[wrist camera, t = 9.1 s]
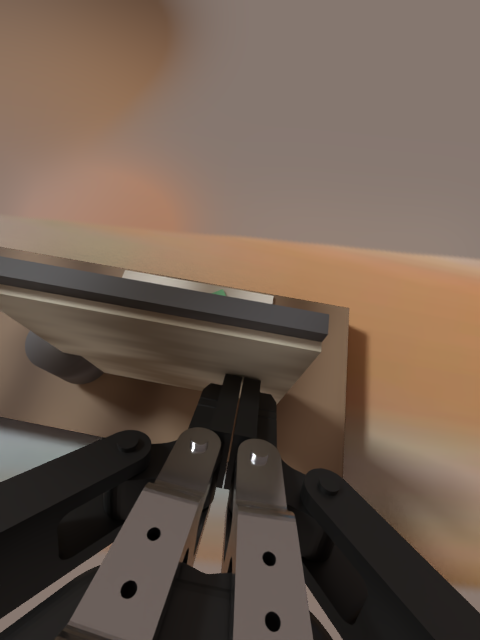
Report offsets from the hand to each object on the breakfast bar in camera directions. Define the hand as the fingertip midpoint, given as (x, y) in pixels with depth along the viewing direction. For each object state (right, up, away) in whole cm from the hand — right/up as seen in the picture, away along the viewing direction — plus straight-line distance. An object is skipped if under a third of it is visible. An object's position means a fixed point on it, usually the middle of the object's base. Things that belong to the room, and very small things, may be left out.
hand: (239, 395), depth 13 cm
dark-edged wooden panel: (-4, 0, +4) cm, 6 cm away
